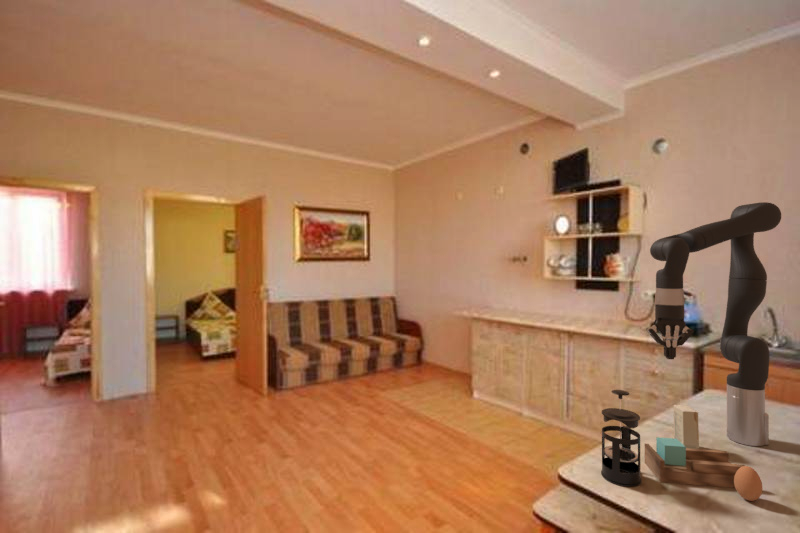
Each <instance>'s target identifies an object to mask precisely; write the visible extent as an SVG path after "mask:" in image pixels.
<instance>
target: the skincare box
mask: <svg viewBox="0 0 800 533" xmlns="http://www.w3.org/2000/svg"><path fill="white" fill-rule="evenodd" d="M699 431H700V430H699V412H698V411H697V410H696V409H694V408H693V407H691V406H689V405H680V404H679V405H678V404H673V436H674V437H673V438H674V439H677V440H679V441H680V442H681V443H682V444H683V445H684V446H685V447H686V448H688V449H700V438H699V434H700V433H699Z"/></svg>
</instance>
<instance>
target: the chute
mask: <svg viewBox="0 0 800 533" xmlns="http://www.w3.org/2000/svg"><path fill="white" fill-rule="evenodd" d="M644 464H645V465H646V466H647V468H648V469H650V471H651V473H653V475H654V476H655V477H656V478H657V480H659V482H660V483H671V484H672V483H673V484H681V485H682V484H683V485H685V484H686V485H694V486H695V485H696V486H707V487H708V486H709V487H719V488H731V489H736V488H735V485H734V477H735V474H736V472H737V470H738V469H739V468H740V467H743V466H746V465H745V464H737V463H732V462H730V460H729V452H728V451H726V450H716V449H715V450H714V449H700V448H699V449H688V448H686V466H682V465H668V464H665V461H664V460H663V459H662V458H661V457H660V456H659V455H658V453H657V450H655V449H654V448H653V447H652V446H651V445H650V443H644Z"/></svg>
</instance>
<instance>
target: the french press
mask: <svg viewBox="0 0 800 533" xmlns="http://www.w3.org/2000/svg"><path fill="white" fill-rule="evenodd" d="M610 391H611V393H612V394H614V395H618V396H617V397H618V399H619V407H618V408H616V407H613V408H612V407H609V408H603V409H602V410H601V414H602V416H603V421H604V422H605V423H607V422H609V421H618V422H619V425H606V426H603V427H601V471H600V473H601V474H600V475H601V476H602V477H603V479H605V480H606V481H607V482H609V483H611V484H614V485H616V486H619V487H625V488H626V487H627V488H634V487H635V488H636V487H639V486H640V485H641V484H642V477H641V434H640V433H639V432H638V431H636V430H635V428H637V427H639V421H640V419H641V416H640V415H639V414H638V413H636V412H634V411H631V410H628V409H624V408H622V399H623V396H629V395H630V392H629V391H626V390H623V389H612V390H610ZM622 424H623V425H622ZM610 431H616V432H619V437H614V436H611V435H609V434H607V433H605V432H610ZM631 435H632V436H634V437H635V439H634V438H633V439H632V437H631ZM605 440H607V441H609V442H611V446H606V447H605V443H606V442H605ZM632 445H637V452H635V450H632V449H631V448H632Z"/></svg>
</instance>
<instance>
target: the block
mask: <svg viewBox="0 0 800 533" xmlns="http://www.w3.org/2000/svg"><path fill="white" fill-rule="evenodd" d="M655 442H656V444H655V446H656V452H657V453H658V455H659V456H660V457H661V458H662V459H663V460H664V461H665V464H668V465H682V466H686V447H685V446H684V445H683V444H682V443H681V442H680V441H679V440H677V439H674V437H673V438H671V437H659V436H657V437H656V441H655Z"/></svg>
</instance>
